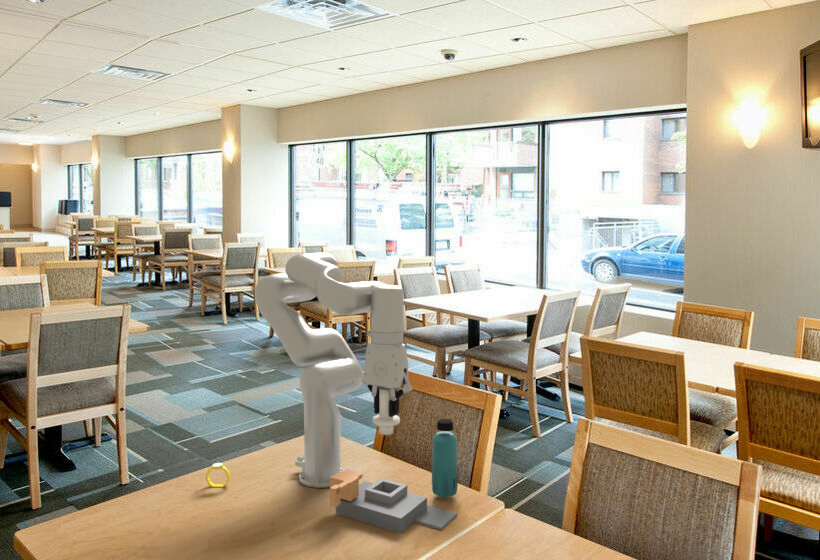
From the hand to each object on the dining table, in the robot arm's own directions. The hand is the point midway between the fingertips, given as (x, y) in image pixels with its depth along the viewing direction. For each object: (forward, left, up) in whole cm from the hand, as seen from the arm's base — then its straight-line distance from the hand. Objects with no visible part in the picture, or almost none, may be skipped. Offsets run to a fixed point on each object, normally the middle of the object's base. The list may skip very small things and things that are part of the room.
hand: (386, 413), depth 151 cm
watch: (-44, -12, -24) cm, 51 cm away
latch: (-8, -8, -20) cm, 23 cm away
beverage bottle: (+9, +13, -24) cm, 29 cm away
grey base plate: (0, -2, -24) cm, 24 cm away
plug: (0, 0, -5) cm, 5 cm away
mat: (+12, +2, -24) cm, 27 cm away
